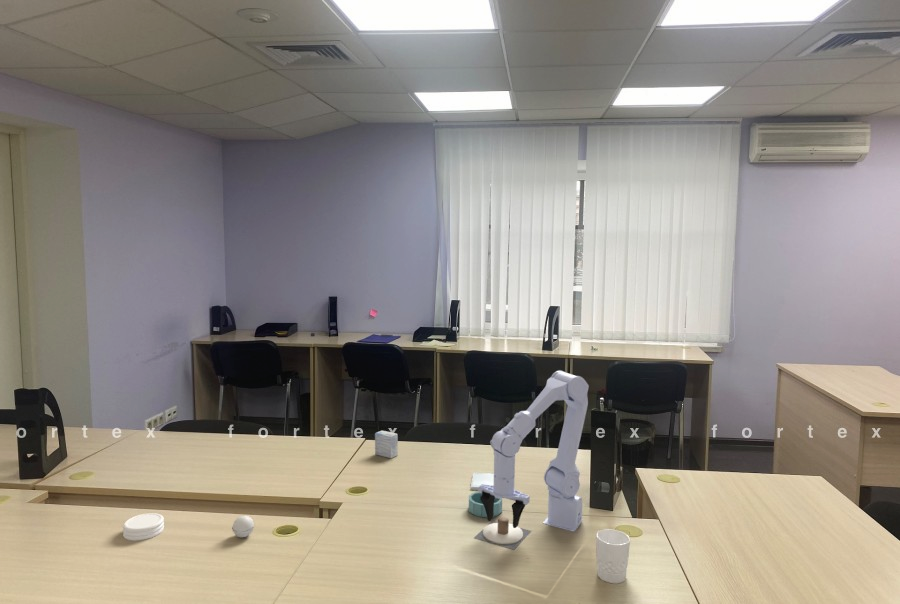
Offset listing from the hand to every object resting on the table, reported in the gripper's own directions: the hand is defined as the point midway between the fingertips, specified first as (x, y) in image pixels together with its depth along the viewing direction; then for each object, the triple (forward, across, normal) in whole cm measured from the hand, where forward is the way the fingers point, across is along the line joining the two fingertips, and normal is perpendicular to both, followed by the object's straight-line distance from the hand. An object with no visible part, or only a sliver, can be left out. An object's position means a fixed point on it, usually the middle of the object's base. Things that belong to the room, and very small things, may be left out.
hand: (502, 522), depth 158 cm
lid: (+3, 0, 0) cm, 3 cm away
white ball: (+4, -60, -38) cm, 71 cm away
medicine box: (+4, -65, +34) cm, 73 cm away
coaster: (+5, -86, -50) cm, 99 cm away
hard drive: (+4, -21, +30) cm, 37 cm away
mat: (+4, 0, 0) cm, 4 cm away
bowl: (+4, -11, +11) cm, 16 cm away
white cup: (+4, +31, -4) cm, 32 cm away
